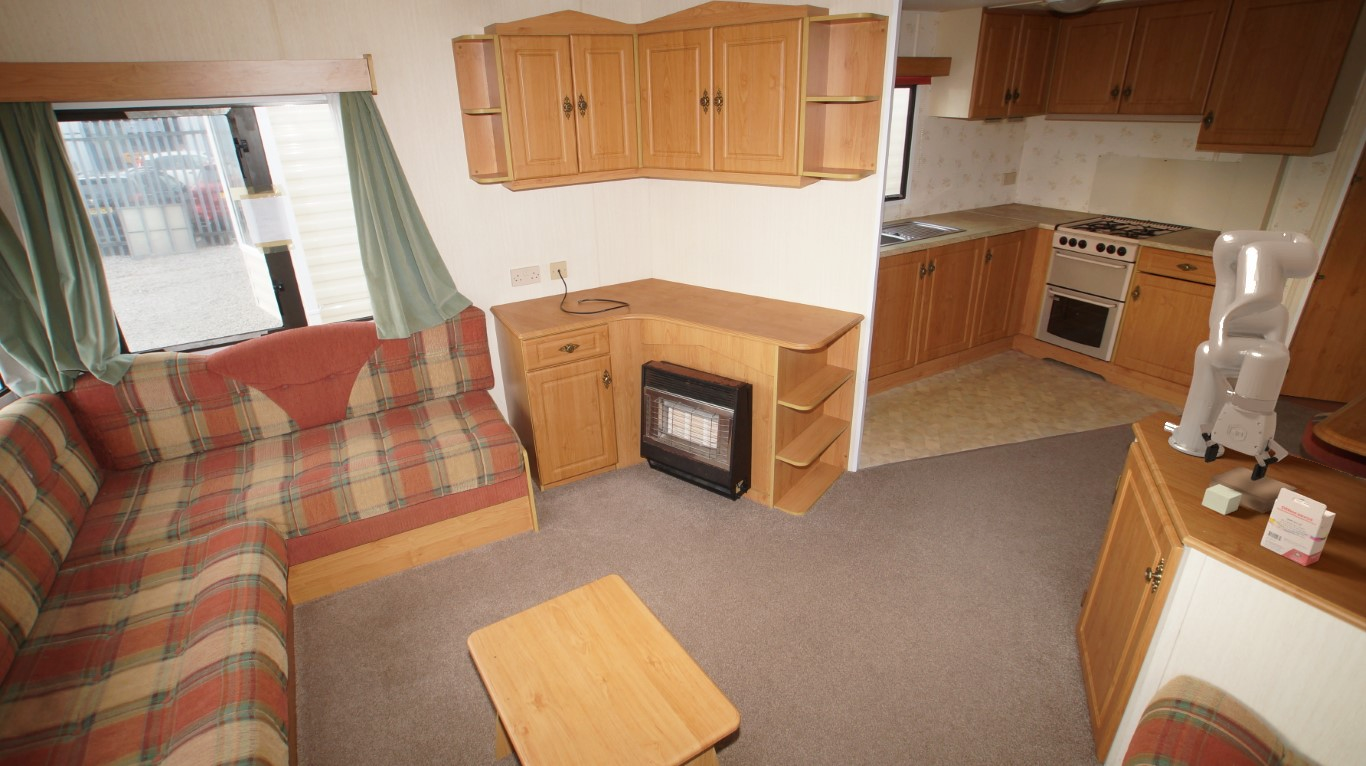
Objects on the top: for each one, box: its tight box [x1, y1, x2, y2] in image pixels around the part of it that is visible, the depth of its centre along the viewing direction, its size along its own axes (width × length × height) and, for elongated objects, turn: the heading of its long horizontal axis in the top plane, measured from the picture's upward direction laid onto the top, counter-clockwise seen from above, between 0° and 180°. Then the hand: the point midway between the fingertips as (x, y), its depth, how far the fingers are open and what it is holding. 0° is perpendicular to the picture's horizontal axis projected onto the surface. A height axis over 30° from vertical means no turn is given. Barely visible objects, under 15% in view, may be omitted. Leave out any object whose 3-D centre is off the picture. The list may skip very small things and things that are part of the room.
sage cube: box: [1201, 484, 1242, 516], centre depth 158 cm, size 5×5×4 cm
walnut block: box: [1208, 466, 1298, 514], centre depth 162 cm, size 12×12×4 cm
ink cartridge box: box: [1260, 488, 1336, 567], centre depth 139 cm, size 9×5×15 cm, turn 22°
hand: (1232, 470), depth 154 cm, fingers open, 9 cm apart
